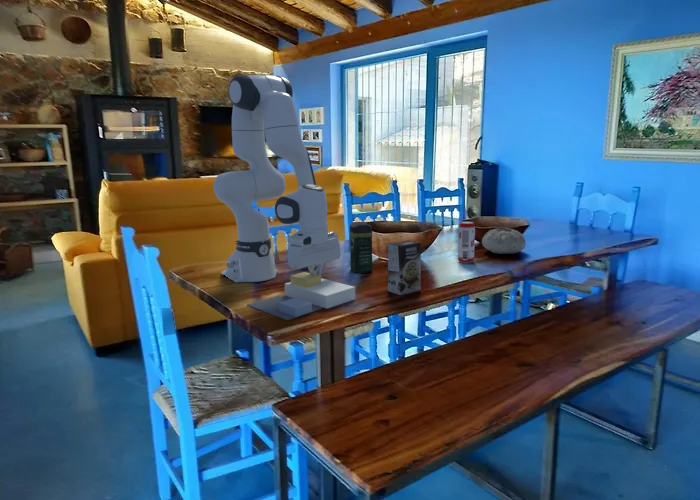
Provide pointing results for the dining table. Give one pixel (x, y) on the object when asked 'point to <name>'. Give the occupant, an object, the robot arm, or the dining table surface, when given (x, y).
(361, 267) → the coffee jar
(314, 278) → the olive yellow block
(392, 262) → the coffee box
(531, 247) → the dining table surface
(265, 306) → the mat
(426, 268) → the dining table surface
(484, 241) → the grey rounded lump
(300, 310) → the blue-grey rectangular block
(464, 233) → the beer can
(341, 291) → the block
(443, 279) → the dining table surface
